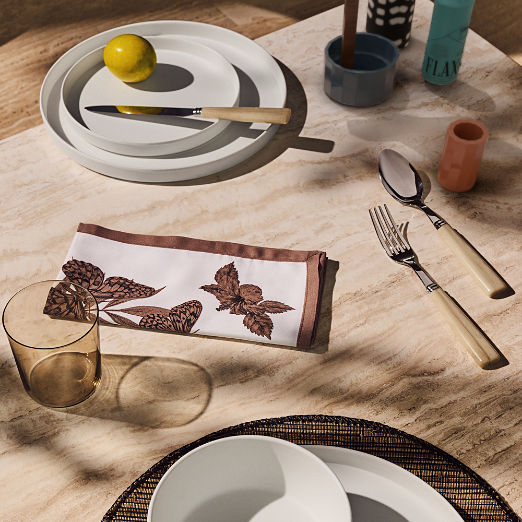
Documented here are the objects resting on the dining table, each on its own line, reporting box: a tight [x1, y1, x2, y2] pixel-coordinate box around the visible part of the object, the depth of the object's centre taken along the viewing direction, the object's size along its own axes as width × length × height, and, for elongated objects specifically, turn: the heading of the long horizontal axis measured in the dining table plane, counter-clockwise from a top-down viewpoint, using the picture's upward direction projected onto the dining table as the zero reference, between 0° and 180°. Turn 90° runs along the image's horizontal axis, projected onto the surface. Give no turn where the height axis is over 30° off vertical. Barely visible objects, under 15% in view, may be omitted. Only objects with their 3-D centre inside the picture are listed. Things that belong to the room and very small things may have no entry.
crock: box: [436, 118, 490, 193], centre depth 98 cm, size 6×6×9 cm
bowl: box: [322, 31, 401, 107], centre depth 115 cm, size 12×12×7 cm
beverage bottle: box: [420, 0, 476, 86], centre depth 111 cm, size 6×7×20 cm
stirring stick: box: [340, 0, 360, 70], centre depth 106 cm, size 2×2×24 cm
